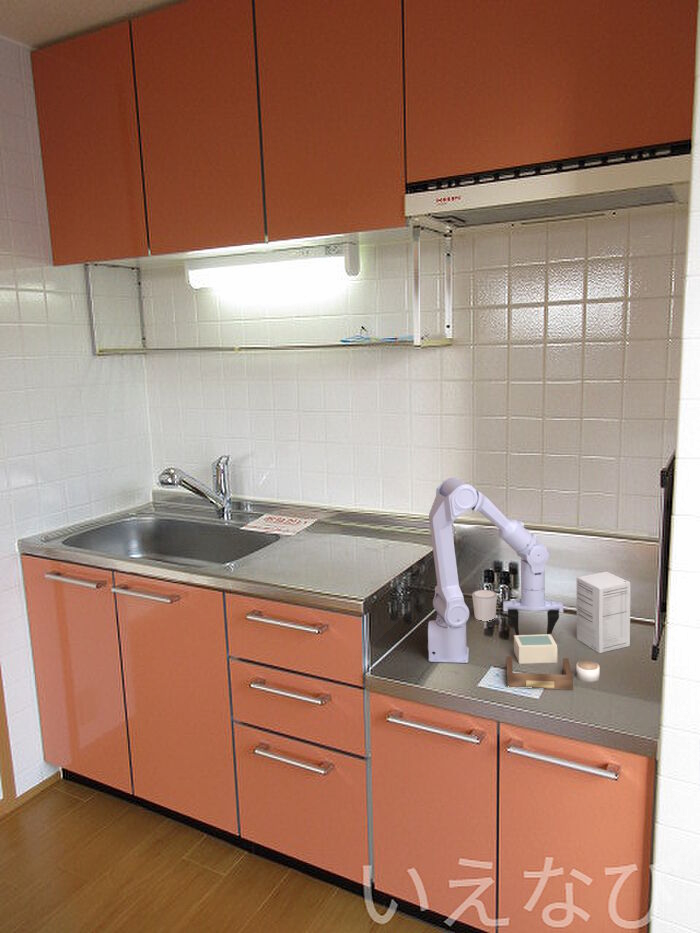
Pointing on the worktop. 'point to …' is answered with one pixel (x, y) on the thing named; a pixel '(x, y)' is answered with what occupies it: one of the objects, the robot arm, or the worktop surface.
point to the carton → (535, 648)
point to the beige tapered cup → (484, 604)
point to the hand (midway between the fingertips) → (533, 637)
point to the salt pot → (588, 671)
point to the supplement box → (603, 611)
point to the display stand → (540, 678)
